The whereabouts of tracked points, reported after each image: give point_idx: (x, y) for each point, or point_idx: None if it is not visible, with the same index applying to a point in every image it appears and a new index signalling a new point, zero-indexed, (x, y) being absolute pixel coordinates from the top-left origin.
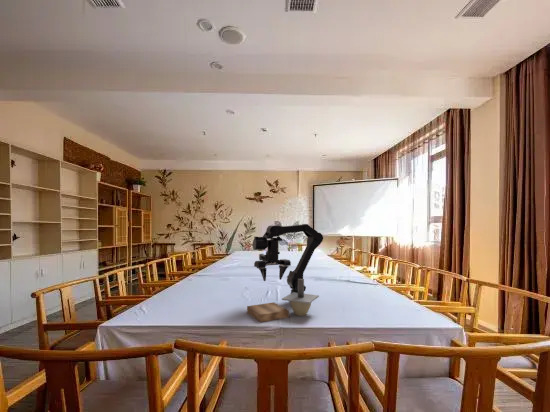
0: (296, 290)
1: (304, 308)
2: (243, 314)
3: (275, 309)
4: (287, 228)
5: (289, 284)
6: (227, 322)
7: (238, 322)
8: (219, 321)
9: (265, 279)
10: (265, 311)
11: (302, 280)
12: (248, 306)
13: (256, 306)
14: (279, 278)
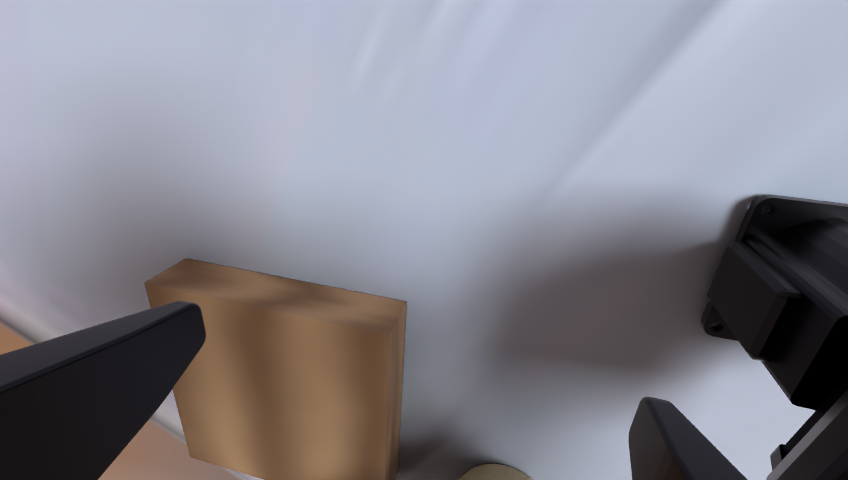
0: (772, 467)
1: None
2: (158, 270)
3: (309, 456)
4: None
5: (845, 402)
6: (65, 324)
7: None
8: (26, 287)
9: (172, 380)
10: (234, 441)
11: None
12: (152, 294)
13: (209, 331)
14: (652, 411)
